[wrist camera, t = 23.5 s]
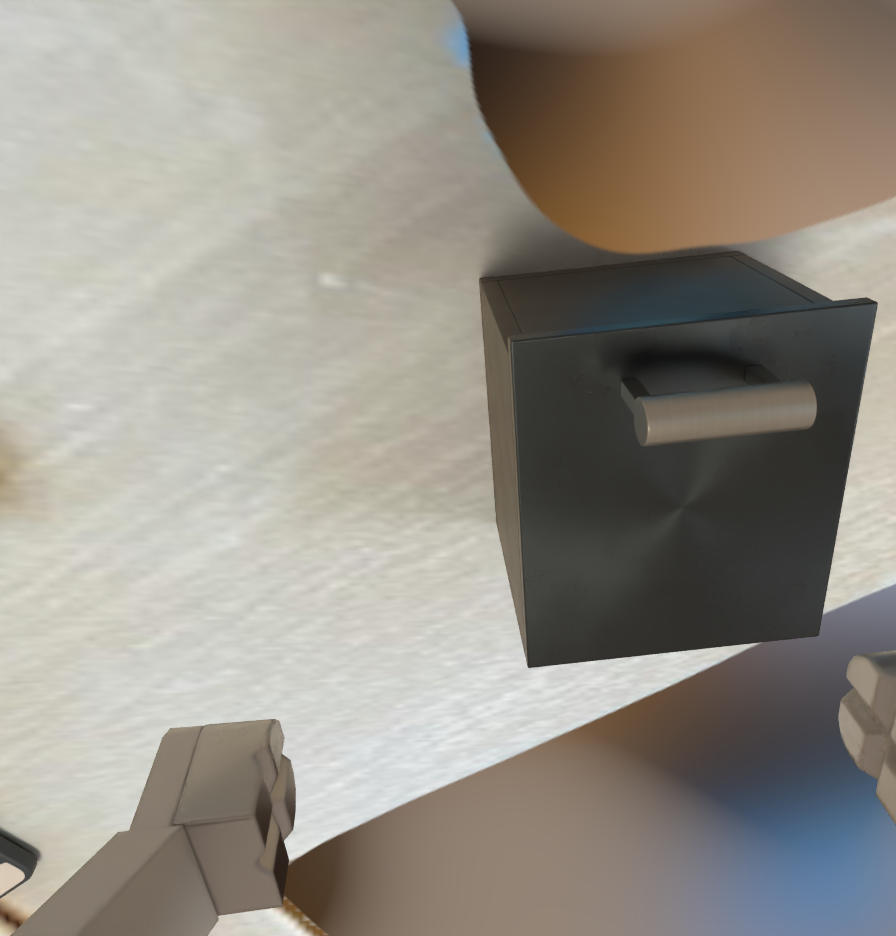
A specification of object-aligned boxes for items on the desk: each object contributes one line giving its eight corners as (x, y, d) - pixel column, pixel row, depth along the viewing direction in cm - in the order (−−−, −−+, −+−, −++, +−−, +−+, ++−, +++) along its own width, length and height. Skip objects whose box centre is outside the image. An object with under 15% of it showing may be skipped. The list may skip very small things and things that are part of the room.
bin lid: (507, 335, 30) (526, 380, 25) (867, 296, 30) (949, 335, 25) (525, 657, 37) (542, 735, 33) (811, 625, 38) (866, 700, 33)
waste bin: (478, 278, 41) (508, 354, 30) (740, 250, 41) (864, 316, 30) (496, 523, 48) (525, 656, 37) (717, 499, 49) (810, 625, 38)
